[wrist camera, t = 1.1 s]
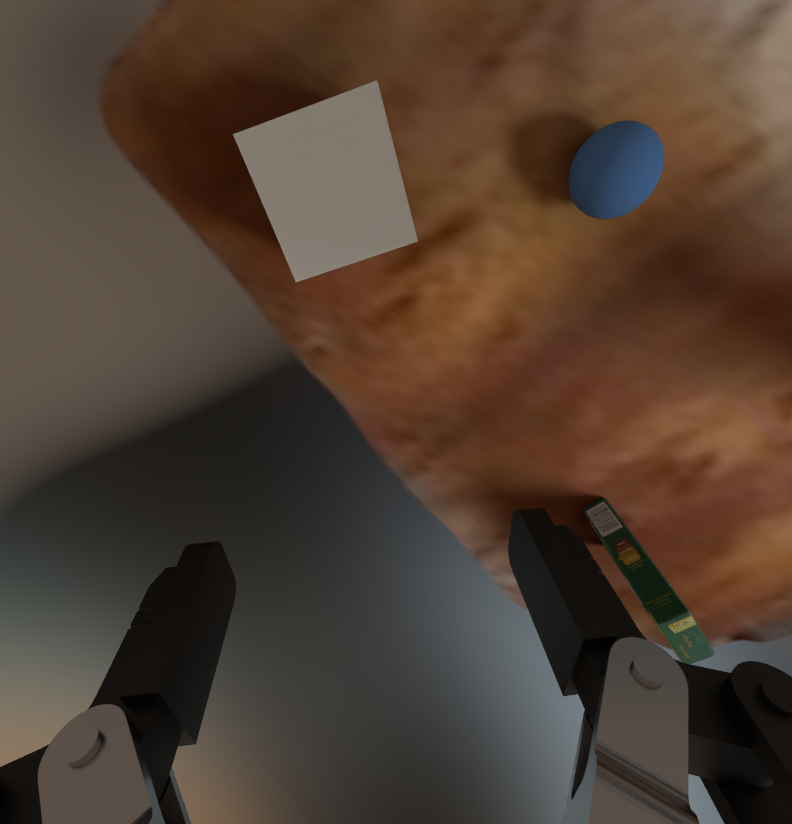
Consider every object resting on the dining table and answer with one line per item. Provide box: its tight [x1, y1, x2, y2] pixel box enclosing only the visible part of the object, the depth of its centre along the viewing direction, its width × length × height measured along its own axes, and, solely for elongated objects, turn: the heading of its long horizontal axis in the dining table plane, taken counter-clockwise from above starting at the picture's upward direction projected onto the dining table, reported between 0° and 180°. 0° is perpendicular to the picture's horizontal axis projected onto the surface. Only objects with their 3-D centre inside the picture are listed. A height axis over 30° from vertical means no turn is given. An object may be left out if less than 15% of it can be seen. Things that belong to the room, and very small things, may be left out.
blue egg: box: [568, 121, 664, 219], centre depth 24 cm, size 5×5×5 cm
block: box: [233, 81, 418, 282], centre depth 22 cm, size 7×7×8 cm
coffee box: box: [582, 498, 714, 664], centre depth 38 cm, size 8×3×13 cm, turn 36°
